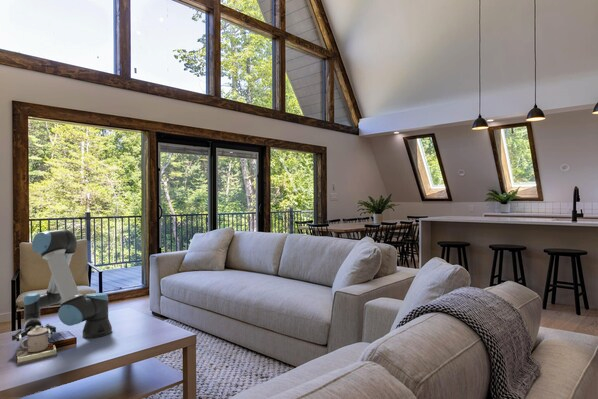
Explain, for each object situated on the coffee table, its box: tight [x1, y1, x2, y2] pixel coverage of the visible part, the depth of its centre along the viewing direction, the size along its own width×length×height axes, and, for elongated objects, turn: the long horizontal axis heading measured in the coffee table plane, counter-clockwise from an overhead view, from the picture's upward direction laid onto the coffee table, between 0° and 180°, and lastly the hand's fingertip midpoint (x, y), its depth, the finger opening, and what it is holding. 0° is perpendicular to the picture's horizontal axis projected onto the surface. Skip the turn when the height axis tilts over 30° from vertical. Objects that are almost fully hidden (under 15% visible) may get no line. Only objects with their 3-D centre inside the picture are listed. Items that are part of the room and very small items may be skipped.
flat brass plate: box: [15, 347, 58, 366], centre depth 192 cm, size 20×16×1 cm
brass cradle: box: [16, 344, 58, 363], centre depth 187 cm, size 8×16×2 cm, turn 128°
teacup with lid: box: [20, 326, 49, 352], centre depth 194 cm, size 12×9×12 cm
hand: (35, 338), depth 191 cm, fingers closed on teacup with lid, 11 cm apart
